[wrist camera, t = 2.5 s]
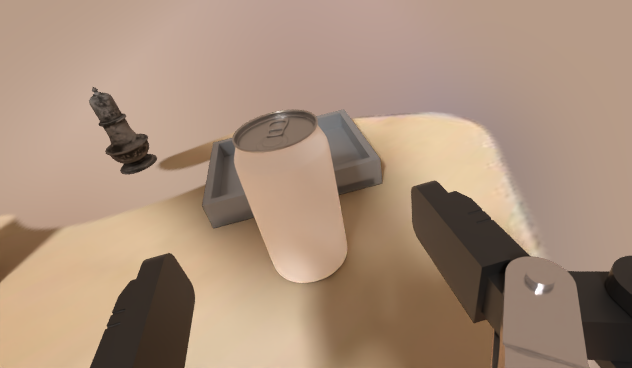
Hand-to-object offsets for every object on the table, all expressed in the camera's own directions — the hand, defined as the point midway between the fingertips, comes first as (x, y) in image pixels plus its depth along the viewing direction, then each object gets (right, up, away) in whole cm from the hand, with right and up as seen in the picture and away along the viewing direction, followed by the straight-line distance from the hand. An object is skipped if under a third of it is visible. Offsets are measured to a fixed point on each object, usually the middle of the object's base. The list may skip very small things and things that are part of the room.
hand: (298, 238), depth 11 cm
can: (0, -4, +17) cm, 17 cm away
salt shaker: (-26, +5, +38) cm, 46 cm away
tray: (-2, +3, +28) cm, 29 cm away
